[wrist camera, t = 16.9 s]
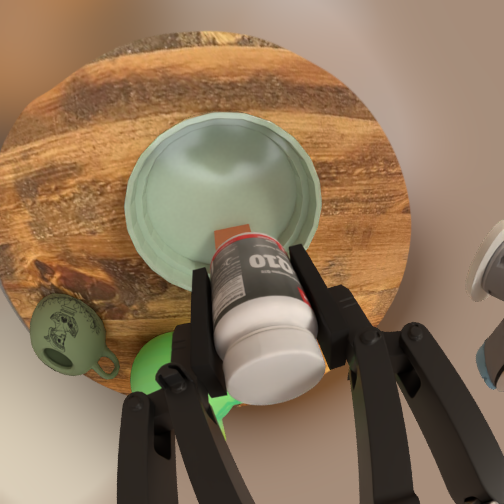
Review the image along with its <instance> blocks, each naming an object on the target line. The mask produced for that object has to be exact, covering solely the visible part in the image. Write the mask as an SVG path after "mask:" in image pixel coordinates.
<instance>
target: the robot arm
mask: <svg viewBox="0 0 504 504" xmlns="http://www.w3.org/2000/svg"><path fill="white" fill-rule="evenodd" d="M289 254H290V261H291V264H292V266H293V268H294V270H295V272H296V274H297V276H298V279H299V281H300V283H301V285H302V287H303V289H304V291H305V293H306V295H307V298H308V300H309V302H310V304H311V306H312V309H313V311H314V313H315V315H316V319H317V322H318V334H317V340H318V343H319V345H320V347H321V350H322V352H323V355H324V357H325V359H326V362H327V364H328V367H329V369H330V370H331V369H334V368H337V367H340V366H343V365H345V363H346V360H347V362H348V364H349V366H350V367H349V373H348V380H350V384H351V392H352V399H353V408H354V417H355V427H356V438H357V449H358V450H357V451H358V466H359V492H360V504H420V501H419V498H418V497H417V495H416V494H415V493H414V490H413V481H412V471H411V462H410V455H409V447H408V441H407V435H406V429H405V423H404V418H403V412H402V407H401V403H400V398H399V393H398V389H397V385H396V382H397V384H398V385H399V387H400V389H401V391H402V393H403V395H404V397H405V399H406V401H407V403H408V405H409V407H410V408H411V410H412V413H413V414H414V417H415V419H416V421H417V422H418V425H419V427H420V429H421V431H422V433H423V435H424V437H425V439H426V441H427V444H428V446H429V448H430V450H431V452H432V454H433V457H434V459H435V461H436V463H437V466H438V468H439V470H440V473H441V475H442V477H443V480H444V482H445V485H446V487H447V490H448V492H449V494H450V496H451V497H452V499H453V500H454V502H455V503H456V504H504V456H503V454H502V451H501V449H500V447H499V445H498V443H497V441H496V439H495V437H494V435H493V433H492V431H491V429H490V427H489V426H488V424H487V422H486V420H485V418H484V416H483V414H482V413H481V411H480V409H479V407H478V406H477V404H476V402H475V401H474V399H473V397H472V396H471V394H470V392H469V391H468V389H467V387H466V386H465V384H464V382H463V381H462V379H461V378H460V376H459V374H458V373H457V372H456V370H455V368H454V367H453V365H452V364H451V362H450V361H449V359H448V358H447V356H446V355H445V353H444V352H443V350H442V349H441V348H440V346H439V345H438V343H437V342H436V340H435V339H434V338H433V336H432V335H431V334H430V332H429V331H428V329H427V328H426V327H425V326H424V325H422V324H420V323H416V322H412V323H408V324H406V325H405V326H404V327H403V329H402V330H401V331H396V332H383V331H380V330H379V329H378V328H376V327H373V326H372V325H371V323H370V322H369V320H368V319H367V317H366V315H365V314H364V312H363V311H362V309H361V307H360V306H359V304H358V303H357V301H356V300H355V298H354V296H353V295H352V293H351V292H350V290H349V289H347V288H346V287H344V286H343V285H338V286H334V287H331V288H327V286H326V284H325V283H324V281H323V279H322V278H321V276H320V274H319V272H318V271H317V269H316V267H315V266H314V264H313V262H312V260H311V259H310V257H309V255H308V254H307V252H306V250H305V249H304V247H303V245H302V244H297V245H293V246H289ZM481 286H482V289H483V290H484V291H485V292H486V293H488V294H490V295H492V296H494V297H496V298H498V299H500V300H502V301H504V241H503V242H502V243H501V244H500V245H499V246H498V248H497V249H496V250H495V252H494V253H493V255H492V257H491V258H490V260H489V262H488V264H487V266H486V268H485V271H484V274H483V277H482V282H481ZM171 349H172V351H171V363H167V364H165V365H163V366H161V367H160V368H159V370H158V371H157V373H156V375H155V381H156V382H157V383H158V384H159V385H160V386H161V389H159V390H157V391H155V392H152V393H150V394H148V395H146V394H145V393H143V392H139V391H136V392H132V393H131V394H129V395H128V396H127V397H126V399H125V400H124V403H123V408H122V418H121V427H120V438H119V453H118V472H117V504H178V492H177V476H176V455H175V435H176V439H177V442H178V445H179V448H180V452H181V455H182V458H183V461H184V464H185V467H186V470H187V473H188V476H189V479H190V481H191V484H192V486H193V489H194V492H195V494H196V497H197V500H198V502H199V504H255V502H254V500H253V499H252V497H251V495H250V493H249V491H248V489H247V487H246V485H245V483H244V480H243V478H242V476H241V474H240V472H239V470H238V468H237V466H236V463H235V461H234V459H233V457H232V455H231V453H230V450H229V448H228V445H227V443H226V441H225V438H224V436H223V433H222V431H221V429H220V426H219V424H218V421H217V419H216V416H215V414H214V411H213V408H212V406H211V405H210V403H209V398H208V394H209V395H210V397H211V398H216V397H222V396H227V389H226V383H225V376H224V372H223V360H222V359H221V358H220V357H219V355H218V354H217V351H216V349H215V345H214V338H213V320H212V301H211V281H210V279H209V276H208V273H207V270H206V267H203V268H199V269H195V270H192V293H191V323H187V324H182V325H177V326H176V328H175V330H174V332H173V334H172V347H171ZM476 363H477V367H478V370H479V372H480V374H481V376H482V378H484V381H485V383H486V384H487V386H488V387H489V388H491V389H493V390H494V389H496V388H497V390H498V391H500V392H504V319H503V320H502V321H501V323H500V324H499V325H498V327H497V328H496V329H495V330H494V332H493V333H492V334H491V335H490V336H489V338H487V339H486V340H485V342H484V344H483V345H482V346H481V347H480V349H479V350H478V352H477V354H476Z"/></svg>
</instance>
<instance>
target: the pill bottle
mask: <svg viewBox="0 0 504 504" xmlns="http://www.w3.org/2000/svg"><path fill="white" fill-rule="evenodd" d="M210 281H211V301H212V320H213V338H214V345H215V349H216V351H217V354H218V355H219V357H220V358H221V359H222V360H223V372H224V376H225V383H226V389H227V391H228V393H229V395H230V396H231V397H232V398H234V399H235V400H237V401H239V402H242V403H245V404H251V405H269V404H276V403H281V402H285V401H288V400H291V399H294V398H295V397H298V396H300V395H302V394H303V393H306V392H307V391H308V390H310V389H312V388H313V387H314V386H315V385H316V384H317V383H318V382H319V381H320V380H321V378H322V377H323V375H324V373H325V362H324V359H323V356H322V354H321V351H320V348H319V346H318V343H317V340H316V338H317V334H318V322H317V319H316V315H315V313H314V311H313V309H312V306H311V304H310V302H309V300H308V298H307V295H306V293H305V291H304V289H303V287H302V285H301V283H300V281H299V279H298V276H297V274H296V272H295V270H294V268H293V266H292V264H291V262H290V259H289V257H288V255H287V253H286V251H285V249H284V248H283V246H282V245H281V244H280V243H279V242H278V241H277V240H276V239H274V238H273V237H271V236H269V235H267V234H263V233H258V232H246V233H241V234H238V235H235V236H233V237H231V238H229V239H228V240H226V241H225V242H224V243H222V244H221V245H220V246H219V247H218V249H217V250H216V251H215V253H214V255H213V257H212V260H211V265H210Z"/></svg>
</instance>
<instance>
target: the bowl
mask: <svg viewBox="0 0 504 504" xmlns="http://www.w3.org/2000/svg"><path fill="white" fill-rule="evenodd" d="M321 207H322V200H321V190H320V181H319V178H318V175H317V173H316V170H315V168H314V165H313V163H312V160H311V158H310V157H309V155H308V154H307V153H306V152H305V150H304V149H303V148H302V147H301V145H300V144H299V143H298V142H297V140H296V139H295V138H294V137H293V136H291V135H290V134H288V133H287V132H286V131H284V130H283V129H281V128H280V127H278V126H277V125H275V124H274V123H272V122H270V121H267V120H264V119H261V118H258V117H255V116H252V115H249V114H246V113H242V112H238V111H210V112H206V113H202V114H198V115H195V116H191V117H188V118H186V119H184V120H182V121H181V122H179V123H177V124H176V125H174V126H172V127H171V128H169V129H167V130H166V131H164V132H163V133H162V134H160V135H159V136H158V137H157V138H156V139H155V140H154V141H153V142H152V143H151V144H150V146H149V147H148V148H147V149H146V150H145V151H144V152H143V153H142V154H141V156H140V157H139V159H138V161H137V163H136V165H135V167H134V169H133V171H132V173H131V176H130V178H129V180H128V184H127V190H126V197H125V204H124V209H125V217H126V224H127V230H128V233H129V235H130V237H131V239H132V242H133V244H134V246H135V248H136V251H137V252H138V253H139V255H140V256H141V257H142V258H143V260H144V261H145V262H146V263H147V265H148V266H149V267H150V268H151V269H152V270H153V271H154V272H156V273H157V274H159V275H160V276H161V277H163V278H164V279H165V280H167V281H168V282H170V283H172V284H174V285H176V286H179V287H181V288H184V289H186V290H188V291H191V292H192V270H195V269H199V268H203V267H206V270H207V273H208V276H209V279H210V265H211V260H212V257H213V255H214V253H215V251H216V249H215V237H214V231H216V230H221V229H225V228H230V227H235V226H240V225H245V224H249V226H250V229H251V232H258V233H263V234H267V235H269V236H271V237H273V238H274V239H276V240H277V241H278V242H279V243H280V244H281V245H282V246H283V248H284V249H285V251H286V253H287V255H288V257H289V259H290V254H289V246H293V245H297V244H302V245H303V247H304V249H305V250H307V249H308V247H309V245H310V243H311V241H312V238H313V236H314V234H315V232H316V230H317V228H318V223H319V218H320V212H321ZM290 262H291V261H290Z"/></svg>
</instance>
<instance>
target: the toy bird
mask: <svg viewBox="0 0 504 504" xmlns="http://www.w3.org/2000/svg"><path fill="white" fill-rule="evenodd" d="M173 332H174V331H173ZM173 332H168V333H164V334H161V335H159V336H157V337H155V338H153V339H152V340H150V341H149V342H148V343H146V344H145V345H144V346H143V347H142V349H141V350H140V351H139V353H138V354H137V356H136V358H135V360H134V363H133V366H132V370H131V378H130V382H131V390H132V392H136V391H139V392H143V393H145V394H146V395H148V394H150V393H152V392H155V391H157V390H159V389H161V386H160V385H159V384H158V383H157V382H156V381H155V375H156V373H157V371H158V370H159V368H160V367H161V366H163V365H165V364H167V363H171V351H172V349H171V347H172V334H173ZM208 398H209V403H210V405H211V406H212V408H213V411H214V414H215V416H216V419H217V421H218V424H219V426H220V429H221V431H222V433H223V436H224V438H225V441H226V435H225V431H224V427H223V422H222V418H223V417H224V416H225V415H226V414H227V413H228V412H229V410H230V409H231V408H232V406H233V405H236V404H241V403H242V402H239V401H237V400H235V399H234V398H232V397H231V396H230V395H229V393H228V391H227V396H222V397H216V398H211V397H210V395H209V394H208Z"/></svg>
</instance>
